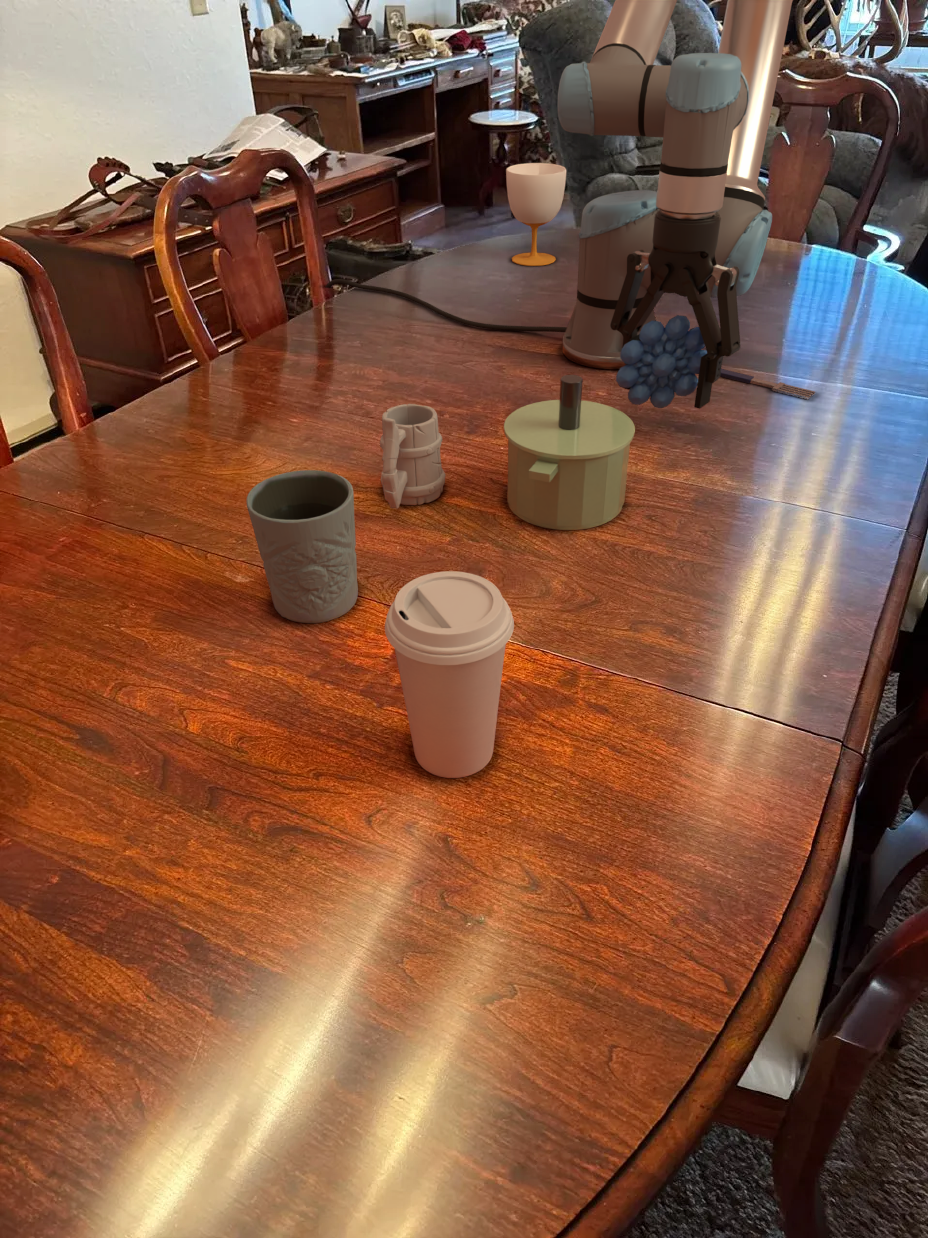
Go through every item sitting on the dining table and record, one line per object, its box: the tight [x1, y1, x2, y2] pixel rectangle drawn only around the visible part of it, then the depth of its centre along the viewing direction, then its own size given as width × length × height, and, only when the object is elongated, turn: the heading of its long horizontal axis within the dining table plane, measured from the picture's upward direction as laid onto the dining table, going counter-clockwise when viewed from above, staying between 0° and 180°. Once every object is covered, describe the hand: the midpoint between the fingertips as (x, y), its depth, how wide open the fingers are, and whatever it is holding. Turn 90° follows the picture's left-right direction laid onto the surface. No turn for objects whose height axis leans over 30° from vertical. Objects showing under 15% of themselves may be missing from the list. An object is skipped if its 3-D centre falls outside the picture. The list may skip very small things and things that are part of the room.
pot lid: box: [503, 374, 636, 460], centre depth 102 cm, size 15×15×7 cm
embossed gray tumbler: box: [245, 469, 359, 624], centre depth 90 cm, size 10×10×12 cm
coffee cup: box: [384, 570, 515, 779], centre depth 71 cm, size 10×10×15 cm
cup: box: [505, 162, 567, 267], centre depth 184 cm, size 12×12×17 cm
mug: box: [379, 403, 447, 510], centre depth 106 cm, size 8×12×12 cm, turn 162°
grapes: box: [615, 314, 707, 409], centre depth 117 cm, size 12×7×12 cm, turn 81°
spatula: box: [720, 368, 816, 400], centre depth 136 cm, size 21×3×1 cm, turn 51°
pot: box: [506, 439, 631, 531], centre depth 106 cm, size 14×19×9 cm
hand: (666, 394), depth 120 cm, fingers closed on grapes, 9 cm apart
